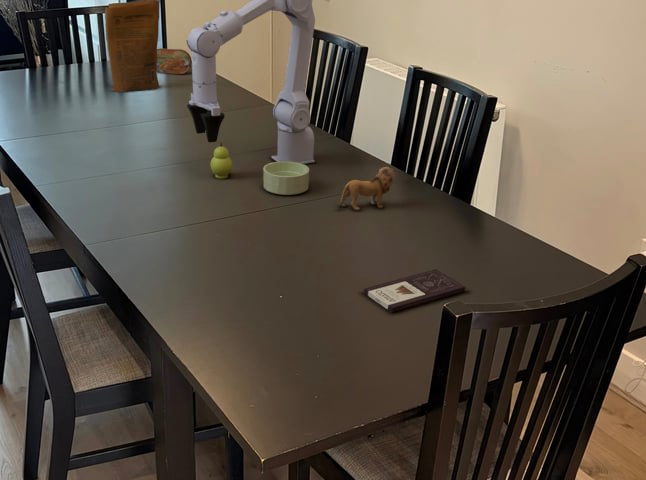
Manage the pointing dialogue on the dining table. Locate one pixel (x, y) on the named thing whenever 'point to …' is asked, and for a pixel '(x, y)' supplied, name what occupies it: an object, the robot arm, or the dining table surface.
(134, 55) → the pancake mix bag
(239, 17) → the robot arm
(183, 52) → the tin
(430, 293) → the chocolate bar
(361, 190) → the lion figurine
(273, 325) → the dining table surface
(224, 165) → the pear
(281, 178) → the bowl
